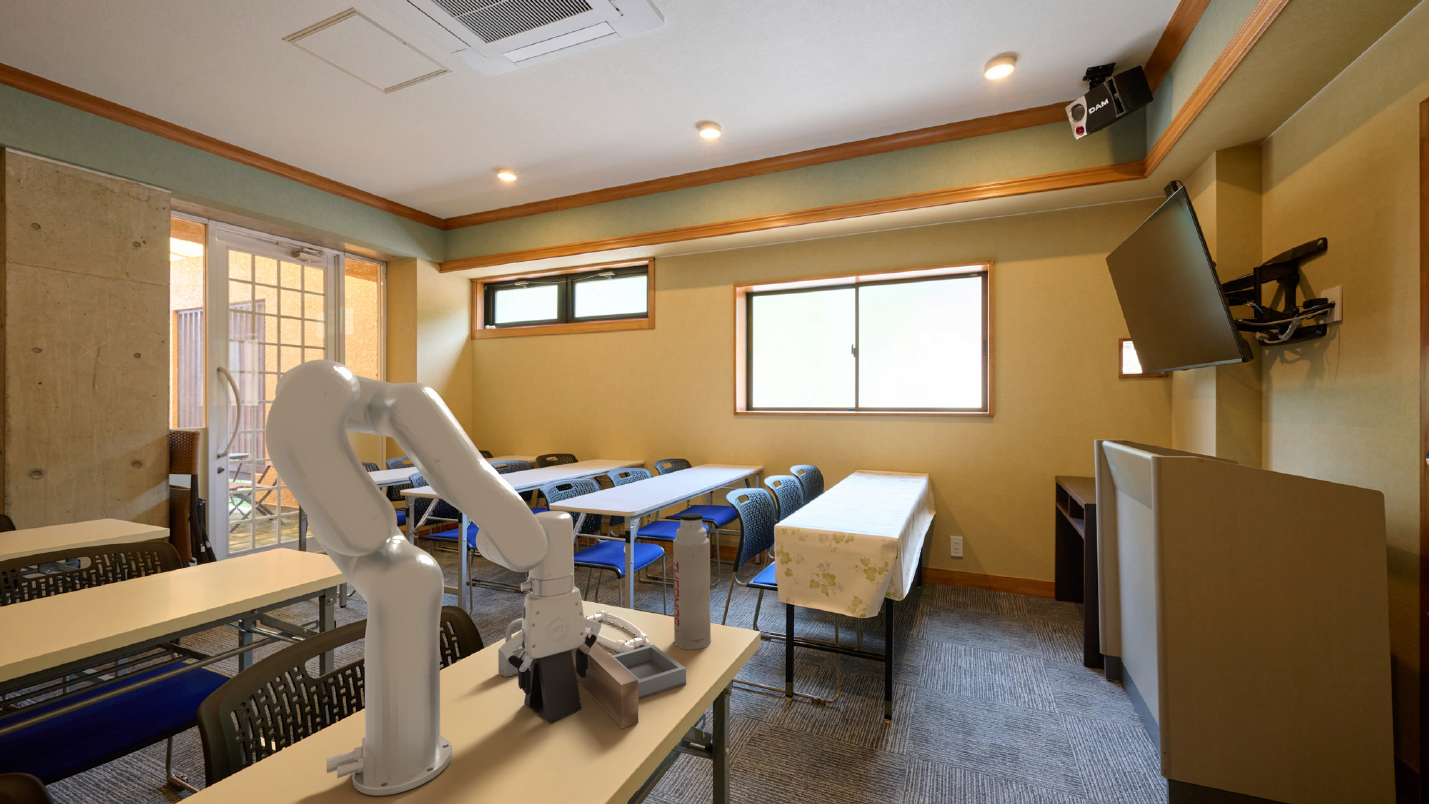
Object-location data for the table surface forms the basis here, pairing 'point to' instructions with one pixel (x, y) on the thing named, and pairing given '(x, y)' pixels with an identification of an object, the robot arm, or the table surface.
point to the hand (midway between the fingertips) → (554, 682)
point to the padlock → (503, 663)
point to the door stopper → (553, 687)
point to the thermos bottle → (691, 584)
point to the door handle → (620, 644)
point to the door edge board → (610, 686)
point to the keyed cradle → (652, 670)
